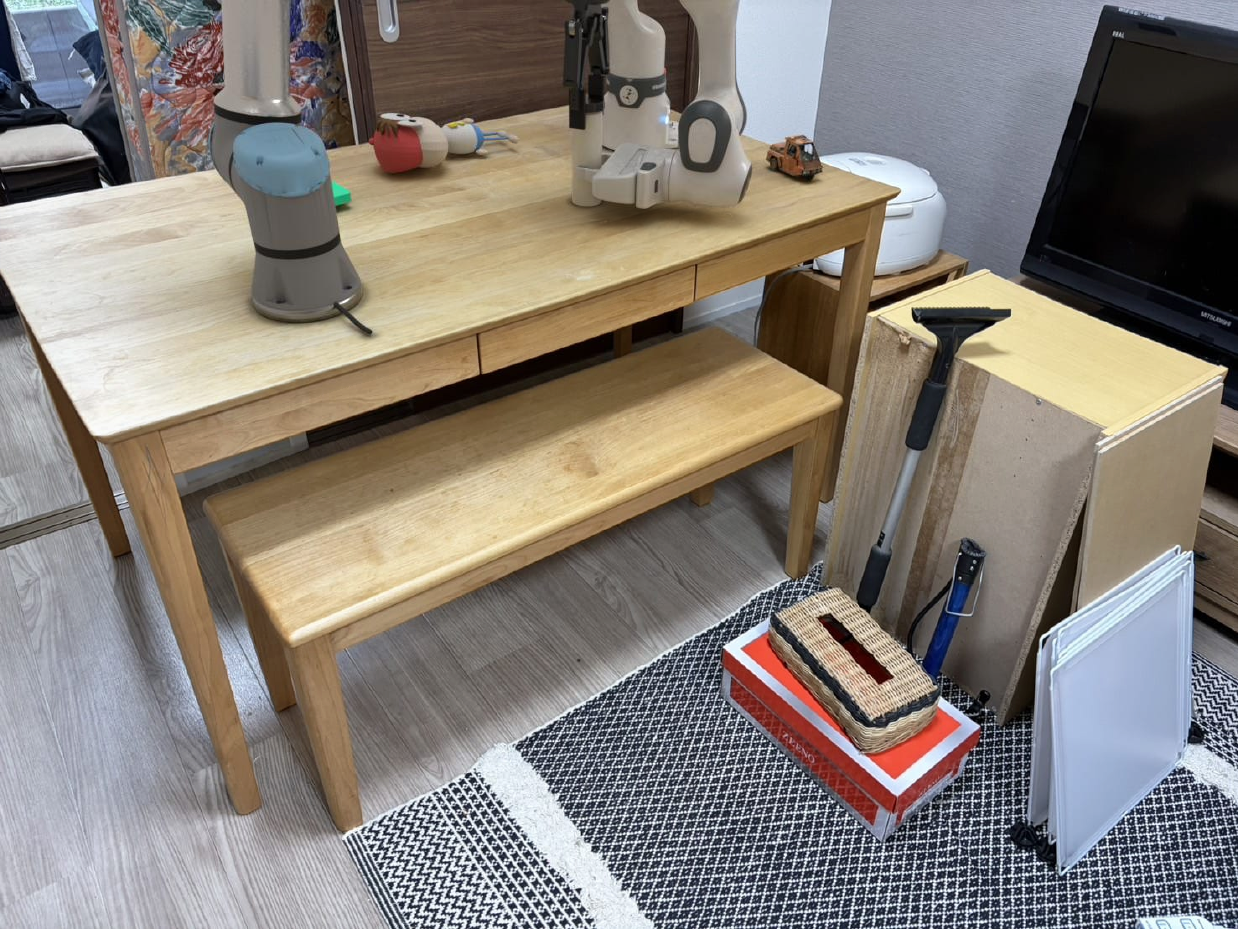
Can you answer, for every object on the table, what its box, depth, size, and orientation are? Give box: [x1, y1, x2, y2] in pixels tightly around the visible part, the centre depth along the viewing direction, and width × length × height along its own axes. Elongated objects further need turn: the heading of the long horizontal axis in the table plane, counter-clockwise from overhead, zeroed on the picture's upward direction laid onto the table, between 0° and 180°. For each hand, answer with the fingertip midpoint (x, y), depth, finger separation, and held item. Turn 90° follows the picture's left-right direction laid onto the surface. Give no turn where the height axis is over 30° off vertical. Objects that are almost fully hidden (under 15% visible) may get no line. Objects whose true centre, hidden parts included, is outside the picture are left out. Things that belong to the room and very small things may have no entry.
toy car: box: [765, 134, 824, 182], centre depth 180 cm, size 6×12×7 cm, turn 39°
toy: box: [368, 112, 520, 174], centre depth 181 cm, size 18×10×30 cm
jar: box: [570, 111, 603, 207], centre depth 163 cm, size 5×5×17 cm
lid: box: [586, 93, 605, 113], centre depth 158 cm, size 6×6×2 cm
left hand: (586, 121), depth 160 cm, fingers open, 8 cm apart
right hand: (581, 165), depth 164 cm, fingers closed on jar, 5 cm apart
